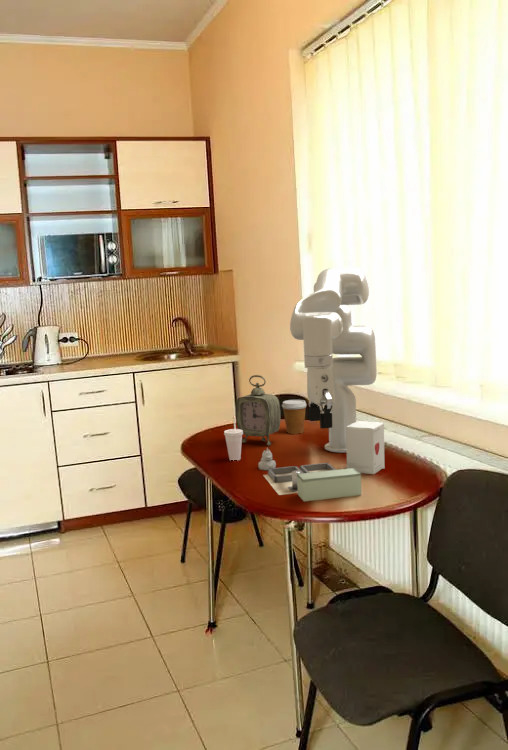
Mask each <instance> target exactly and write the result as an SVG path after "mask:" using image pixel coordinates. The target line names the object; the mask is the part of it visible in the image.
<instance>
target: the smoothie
mask: <svg viewBox="0 0 508 750" xmlns="http://www.w3.org/2000/svg"><path fill="white" fill-rule="evenodd" d="M236 426H237V422H236V417H234V418H233V428H231V429H227V430H226V429H225V430H224V431H223V432H224V433H223V435H224V437H225V442H226V447H227V453H228V458H229V459H228V460H229V461H231V460H233V462H235V461H234V460H237V461H240V460H241V459H242V457H241V455H242V443H243V442H242V440H243V435H244V434H243V430H241V429H238V428H237V427H236Z"/></svg>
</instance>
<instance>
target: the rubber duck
mask: <svg viewBox="0 0 508 750" xmlns="http://www.w3.org/2000/svg"><path fill="white" fill-rule="evenodd" d="M276 466H277V463H276V460H274V459H273V453H272V452H271V450H270V449H269V448H268V447H266V450H265V449H264V450H263V451H262V453H261V458H260V461H259V462H258V469H259V470H261V471H268V469H272V468H277V467H276Z"/></svg>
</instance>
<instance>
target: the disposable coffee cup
mask: <svg viewBox="0 0 508 750" xmlns="http://www.w3.org/2000/svg"><path fill="white" fill-rule="evenodd" d="M307 405H308V404H307V402H306V400H304V399H288V400H284V401H282V404H281V407H282V409H283V411H282V412H283V415H284V422H285V428H286V433H287V432H288V433H291V434H290V435H299V434H298V433H301V434H303V433H305V432H304V431H305V430H304V429H305V421H306V420H305V419H306V418H305V417H306V408H307ZM288 433H287V434H288Z"/></svg>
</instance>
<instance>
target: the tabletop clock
mask: <svg viewBox="0 0 508 750" xmlns="http://www.w3.org/2000/svg"><path fill="white" fill-rule="evenodd" d="M253 378H260V379H262V380H263V383H262V384H259V382H255V384H254V383H252V381H251V380H252V379H253ZM248 382H249V384H250V386H253V387H254V388H252V389H251V391H250V394H247V395H244V396H241V397H238V398H237V400H236V402H235V422H236V426H237V427H236V428H237V429H241V430H243V434H242V435H244V436H245V437H244V438H242V443H243V444H245V443H247V439H248V437H249V436H250V437H257V438H259V437H261V441H264V442H266V439H267V442H266V446H268V447H269V446H271V445H272V441H270V435H271V434H274V433H276V432H278V431H280V427H281V405H280V400H279V398H278V397H277V396H276V395H274V394H270V393H265V390H264V389H263V388H262V387H265V385H266V382H267V381H266V378H265V377H263V376H262V375H259V374H255V375H251V376H250V377H249V379H248Z"/></svg>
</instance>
